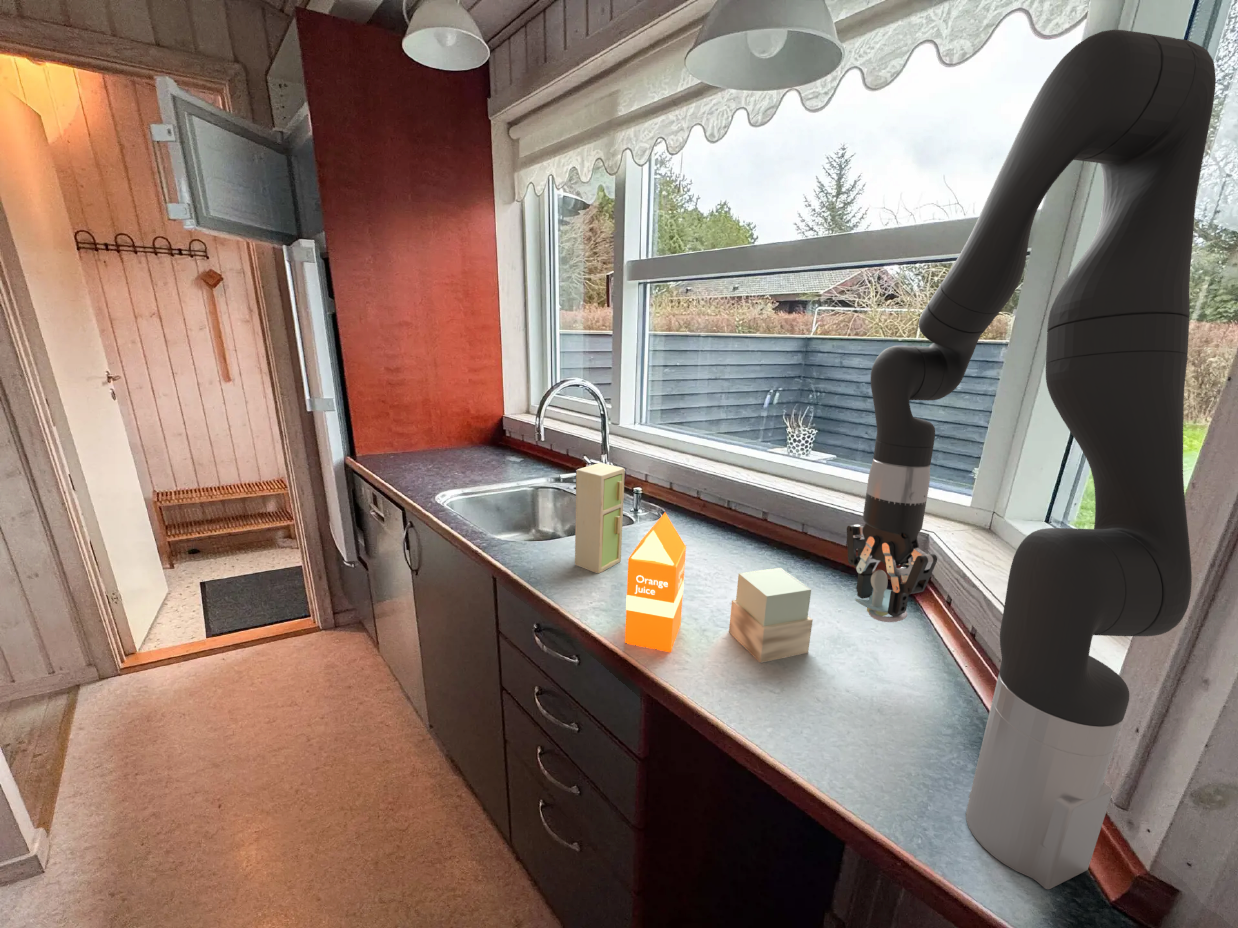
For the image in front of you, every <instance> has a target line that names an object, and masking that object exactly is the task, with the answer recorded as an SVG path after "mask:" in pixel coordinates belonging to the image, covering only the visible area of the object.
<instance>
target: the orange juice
mask: <svg viewBox="0 0 1238 928" xmlns="http://www.w3.org/2000/svg"><path fill="white" fill-rule="evenodd" d="M686 550H687V545H686V544H685V542H684V541H683V539H682V538H681V536H680V534H679V533H678V531H677V529H676V528H675V526H674V525H673V523H672V521H671V520H670V518H669V516H668V514H667V513H666V512H664V513H663V514H662V515H661V517H659V519H658V520H657V521H656V522H655V524H654V525H653V526H652V527H651V528H650V529H649V530H648V531H647V533H646V534H645V535H644V536H643V537H642V539H641V540H640V541H639V543H638V544H637V546H636V547H635V549H634V550H633V552H632V553H631V554H630V555H629V557H628V559H627V582H626V583H627V585H626V595H625V596H626V597H625V598H626V599H625V600H626V601H625V631H624V632H625V633H624V644H625V643H627V645H630V646H631V645H632V646H635V645H636V647H642V648H645V647H646V648H647V649H651V650H655V649H657V650H656V651H660V652H667V653H672V650H673V647H674V645H675V642H676V639H677V635H678V633H679V631H680V627H681V623H682V611H683V610H682V609H683V596H684V583H685V567H686V555H687V554H686V552H687V551H686ZM646 648H645V649H646Z"/></svg>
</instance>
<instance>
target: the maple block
mask: <svg viewBox="0 0 1238 928" xmlns="http://www.w3.org/2000/svg"><path fill="white" fill-rule="evenodd" d="M730 605H731V606H730V618H729V629H728V632H729V634H730V635H731V636H732V637H733V638H735V640H736V641H737V642H738V643H739V644H740V645H741V646H743V647H744V648H745V650H747V652H748V653H750V655H752V656H753V657H754V658H755V660H757V662H759V664H760V663H761V664H762V663H765V662H766V663H767V662H771V661H775V660H776V661H777V660H779V659H784V658H789V657H795V656H799V655H803V654H808V653H809V651H810V650H809V648H810V643H811V635H812V628H813V620H814V619H813V618H811V617H810V616H809V615H808V618H807V619H802V620H796V621H791V622H785V623H779V624H773V625H767V626H763V625H762V624H761V623H760V622H759V621H757V620H756V619H755V618H754V617H753V616H752V615H751V614H750V613H749V612H748V611H746V610H745V609H744V608H743V607H742V606H741V605H740V604H739V603H738V602H737V601H736V599H734V600H733V599H732V600H731V604H730Z"/></svg>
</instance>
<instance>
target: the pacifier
mask: <svg viewBox="0 0 1238 928" xmlns="http://www.w3.org/2000/svg"><path fill="white" fill-rule="evenodd" d="M872 573H873V574H872V576H871V585H872V587H873V591H872V595H871V596H870V597H869V598H868V599H867V600H866V599H862V598H857V597H856V598H854V599H855V600H854V601H855V602H857V603H858V604H860V605H862V606H863V607H865V608H866V612H867V613H868V615H869V616H870V617H871V618H872V619H874V620H877V621H879V622H882V623H897V622H900V621H903V620H906V618H907V617H908V611H907V610H906V611H905V613H903V614H902V615H899V616H894V617H893V616H887V615H889V614H888V607H889V600H890V594H891V590H892V589H888V582H889V581H888V574H887V572H885V571H884V570H882V569H877V570H874V571H873V572H872Z"/></svg>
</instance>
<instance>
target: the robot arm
mask: <svg viewBox="0 0 1238 928" xmlns="http://www.w3.org/2000/svg"><path fill="white" fill-rule="evenodd" d="M1216 80H1217V79H1216V67H1215V62H1214V59H1213V58H1212V56H1211V54H1210V53H1209V51H1208V50H1207V49H1206V48H1204V47H1203V46H1201V45H1200V44H1198V43H1195V42H1193V41H1191V40H1188V39H1183V38H1176V37H1171V36H1164V35H1159V34H1151V33H1147V32H1141V31H1140V32H1138V31H1133V30H1125V29H1108V30H1102V31H1100V32H1097V33H1094V34H1092V35H1090V36H1087V38H1085V39H1083V40H1082V41H1081V42H1079V43H1077V44H1076V45H1075V46H1073V48H1071V50H1070V51H1068V52H1067V53H1066V54H1065V55H1064V56H1063V58H1062V59H1060V61H1059V62H1058V63H1057V64H1056V66H1055V67H1054V69H1053V70H1052V71H1051V73H1050V74H1049V76H1048V77H1047V78H1046V80H1045V81H1044V82H1043V84H1042V86H1041V88H1040V89H1039V91H1038V92H1037V95H1036V97H1035V98H1034V101H1032V104H1031V105H1030V108H1029V110H1028V112H1027V113H1026V115H1025V117H1024V120H1023V122H1022V123H1021V126H1020V128H1019V130H1018V133H1017V135H1016V137H1015V139H1014V141H1013V143H1012V145H1011V147H1010V149H1009V151H1008V153H1007V156H1006V158H1005V160H1004V161H1003V163H1002V166H1001V168H1000V170H999V172H998V174H997V176H996V178H995V181H994V183H993V186H992V187H991V189H990V192H989V195H988V196H987V199H986V200H985V203H984V204H983V206H982V209H981V212H980V214H979V216H978V219H977V220H976V223H975V224H974V226H973V228H972V230H971V233H970V235H969V237H968V238H967V240H966V242H965V243H964V246H963V248H962V250H961V252H959V253H960V254H959V255H958V257H957V258H956V260H955V261H954V264H953V265H952V267H951V268H950V270H949V271H948V272H947V274H946V276H945V277H944V279H943V280H942V281H941V283H940V285H939V286H938V288H937V289H936V291H935V292H934V293H933V295H932V297H931V298H930V300H929V301H928V303H927V304H926V306H925V307H924V309H923V310H922V312H921V315H920V316H919V318H918V319H919V320H918V328H919V331H920V332H921V334H922V335H923V336H924V337H925V338H926V339H927V341H930V342H931V344H930V345H929V346H920V345H919V346H917V345H916V346H913V345H893V346H889V347H887V348H885V349H883V350H882V351H881V352H880V353H879V355H878V356H876V359H874V361H873V365H872V367H871V371H870V388H871V396H872V400H873V401H872V402H873V408H874V415H875V417H874V418H875V424H876V437H875V444H874V450H873V458H872V463H871V466H870V470H869V473H868V479H867V486H866V493H865V494H866V495H865V498H864V499H865V500H864V506H863V513H862V520H863V522H864V524H862V523H861V524H860V523H859V524H852V525H851V524H850V525H848V526H847V527H846V544H847V545H846V546H847V562H848V564H849V565H850V566H853V567H855V570H856V572H857V573H858V574H857V582H856V593H857V594H856V595H857V596H856V597H858V598H859V599H863V600H865V599H869V597H870V596H871V595H872V594H873V590H874V589H873V587H872V585H871V576H872V574H873V573H874V572H875V571H876V568H877V566H878V565H879V564H880V563H883V565H885V566H886V567H885V568H886V574H887V576H888V575H889V576H890V582H891V586H892V587H891V588H892V589H890V590H891V594H890V600H889V607H888V614H887V615H889V616H890V617H892V616H893V617H894V616H899V615H902V614H903V613H905V611H907V606H908V602H909V596H910V595H911V594H917V593H922V592H924V591H925V589H926V587H927V585H928V582H929V581H930V578H931V576H932V574H933V572H934V571H933V570H934V569H935V567H936V564H937V563H938V556H937V554H935V553H927V552H925V551H923V550H922V549H921V548H920V545H919V540H918V535H919V533H920V532H921V530H922V528H923V525H924V519H925V518H924V517H925V513H926V512H925V511H926V507H927V500H928V496H929V495H928V494H929V488H930V482H931V473H930V472H931V464H932V463H931V462H932V458H933V452H934V445H935V440H936V439H935V437H936V427H935V426H934V424H933V423H932V422H930V421H929V420H926V419H923V418H918V417H914V416H913V413H912V409H911V404H910V401H930V402H931V401H937V400H941V399H943V398H945V397H947V396H949V395H950V394H951V393H953V392H954V391H955V390H956V389H957V387H959V385H960V383H961V382H962V381H963V379H964V378H965V377H964V376H965V374H966V371H967V369H968V366H969V364H970V363H971V359H972V356H973V354H974V352H975V349H976V347H977V345H978V342H979V340H980V337H981V336H982V335H983V334H984V333H985V331H986V329H988V328H989V326H990V325H991V323H992V322H993V321H994V320H995V319H996V317H997V316H998V315H999V314H1000V312H1001V311H1002V310H1003V308H1004V307H1005V306H1006V305H1007V303H1008V302H1009V301H1010V299H1011V298H1012V297H1013V296H1014V293H1015V291H1016V289H1017V288H1018V285H1019V284H1020V281H1021V280H1022V276H1023V273H1024V271H1025V268H1026V267H1025V265H1026V261H1027V256H1028V248H1029V242H1030V241H1029V240H1030V235H1031V230H1032V226H1033V223H1034V221H1035V217H1036V214H1037V212H1038V210H1039V208H1040V206H1041V203H1042V201H1043V199H1044V198H1045V196H1046V195H1047V194H1048V191H1049V190H1050V189H1051V187H1052V186H1053V184H1054V183H1055V181H1057V179H1058V178H1059V177H1060V175H1062V173H1063V172H1064V171H1065V170H1066V169H1067V167H1068V166H1069V165H1070V164H1071V163H1072V162H1073V161H1080V162H1086V163H1087V162H1088V163H1097V164H1099V165H1100V169H1101V173H1102V198H1101V199H1102V200H1101V213H1100V219H1099V221H1098V222H1099V223H1098V225H1097V228H1096V231H1095V235H1094V237H1093V238H1092V240H1091V242H1090V244H1089V246H1088V247H1087V249H1086V250H1085V252H1084V254H1083V255H1082V256H1081V258H1080V259H1079V261H1078V262H1077V263H1076V265H1075V266H1074V268H1073V270H1072V271H1071V272H1070V274H1069V275H1068V277H1067V279H1065V281H1064V283H1063V285H1062V286H1061V288H1060V290H1059V291H1058V293H1057V295H1056V296H1055V299H1054V301H1053V303H1052V304H1051V308H1050V310H1049V314H1048V320H1047V327H1046V332H1047V333H1046V334H1047V335H1046V353H1045V354H1046V355H1045V381H1046V387H1047V391H1048V393H1049V396H1050V399H1051V401H1052V403H1053V405H1054V407H1055V408H1056V410H1057V413H1058V414H1059V416H1060V418H1061V419H1062V421H1063V422H1064V424H1065V425H1066V427H1067V429H1068V430H1069V432H1070V433H1071V435H1072V436H1073V438H1074V440H1075V441H1076V443H1077V444H1078V446H1079V448H1080V449H1081V451H1082V453H1083V455H1084V456H1085V459H1086V461H1087V463H1088V465H1089V468H1090V471H1091V476H1092V480H1093V487H1094V507H1095V512H1094V526H1093V528H1072V527H1070V528H1067V527H1061V528H1060V527H1049V528H1048V527H1047V528H1040V529H1037V530H1035V531H1032V532H1031V533H1029V534H1027V536H1026V537H1025V538H1024V539H1023V540H1022V541H1021V542H1020V544H1019V545H1018V547H1017V549H1016V550H1015V553H1014V556H1013V558H1012V561H1011V565H1010V568H1009V574H1008V578H1007V579H1008V580H1007V587H1006V593H1005V600H1004V606H1003V610H1002V611H1003V613H1002V617H1001V624H1000V629H999V647H1000V654H1001V663H1000V668H999V671H998V675H997V676H998V677H997V680H996V684H995V688H994V693H993V697H992V700H991V705H990V710H989V713H988V717H987V722H986V726H985V730H984V733H983V734H984V735H983V738H982V743H981V747H980V750H979V754H978V755H979V756H978V760H977V764H976V768H975V771H974V776H973V780H972V785H971V790H970V792H969V794H968V795H969V796H968V802H967V807H966V812H965V819H966V823H967V826H968V828H969V830H970V832H971V834H972V835H973V837H974V838H975V839H976V840H977V842H978V843H979V844H980V845H981V846H982V848H984V849H985V850H986V851H987V852H988V853H989V854H991V855H992V856H993V858H995V859H997V860H998V861H1000V862H1001V863H1002V864H1004V865H1005V866H1007V867H1008V868H1010V869H1011V870H1013V871H1016V872H1018V873H1020V874H1022V875H1024V876H1026V877H1029V878H1031V879H1033V880H1035V881H1036V882H1037V883H1038V884H1039V885H1040V886H1042V887H1043V888H1044V889H1045V890H1051V889H1052V888H1055V887H1057V886H1058V885H1061V884H1062V883H1065V882H1066V881H1069V880H1071V879H1072V878H1075V877H1076V876H1078V875H1080V874H1083V873H1084V872H1087V871H1088V870H1089V866H1090V863H1091V860H1092V857H1093V854H1094V852H1095V848H1096V845H1097V843H1098V838H1099V836H1100V832H1101V829H1102V826H1103V822H1104V820H1105V817H1106V813H1107V811H1108V808H1109V804H1110V802H1111V798H1112V795H1113V789H1112V788H1111V786H1109V785H1108V784H1107V783H1104V782H1105V780H1106V776H1107V772H1108V770H1109V765H1110V763H1111V760H1112V756H1113V753H1114V749H1115V747H1116V744H1117V741H1118V737H1119V734H1120V731H1121V727H1122V725H1123V722H1124V719H1125V715H1126V713H1127V709H1128V706H1129V702H1130V690H1129V687H1128V684H1127V683H1126V682H1125V680H1124V679H1123V678H1122V677H1121V675H1119V674H1118V673H1117V672H1116V671H1114V670H1113V669H1112V668H1110V667H1109V666H1108V665H1106V664H1105V663H1104V662H1102V661H1100V660H1098V659H1097V658H1095V657H1093V656H1092V655H1090V651H1091V646H1092V640H1093V637H1094V636H1106V637H1108V636H1109V637H1154V636H1159V635H1164V634H1167V633H1168V632H1170V631H1171V630H1172V629H1174V628H1176V626H1178V625H1179V623H1181V621H1182V620H1183V618H1184V617H1185V615H1186V612H1187V610H1188V608H1189V604H1190V601H1191V594H1192V577H1193V576H1192V561H1191V560H1192V558H1191V547H1190V546H1191V545H1190V538H1189V528H1188V517H1187V508H1186V507H1187V506H1186V498H1185V497H1186V496H1185V485H1184V483H1185V482H1184V481H1185V480H1184V409H1185V408H1184V404H1185V403H1184V402H1185V401H1184V400H1185V387H1186V385H1185V384H1186V376H1187V374H1186V373H1187V366H1188V358H1189V357H1188V355H1189V354H1188V353H1189V337H1190V336H1189V334H1190V333H1189V331H1190V314H1191V313H1190V308H1191V307H1190V281H1191V280H1190V279H1191V265H1192V264H1191V263H1192V255H1193V254H1192V253H1193V242H1194V241H1193V240H1194V229H1195V225H1194V224H1195V213H1196V202H1197V197H1198V189H1199V188H1198V187H1199V181H1200V176H1201V171H1202V165H1203V160H1204V155H1205V149H1206V144H1207V140H1208V134H1209V129H1210V124H1211V119H1212V118H1211V117H1212V113H1213V109H1214V102H1215V101H1214V100H1215V94H1216V83H1217V81H1216ZM897 566H901V567H897Z"/></svg>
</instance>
